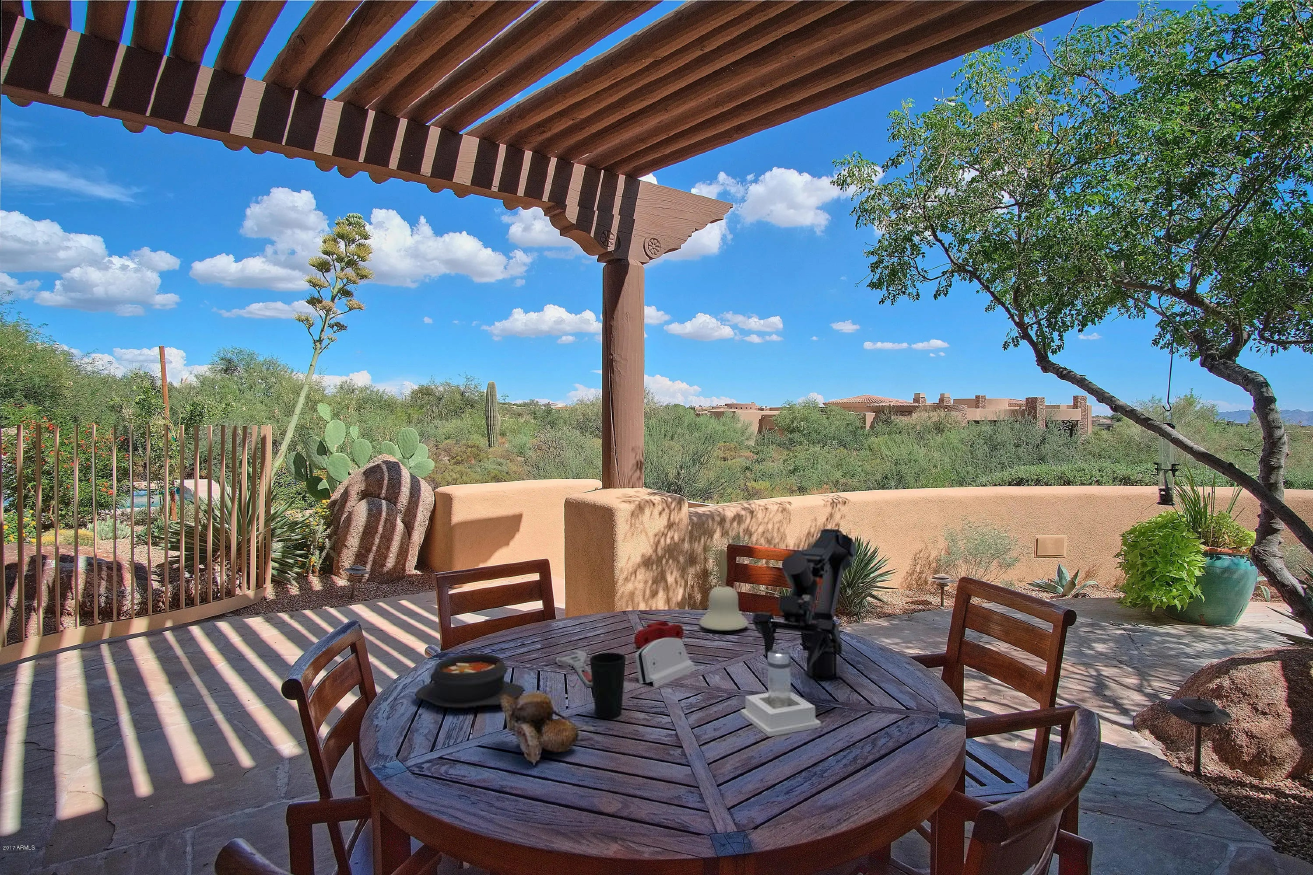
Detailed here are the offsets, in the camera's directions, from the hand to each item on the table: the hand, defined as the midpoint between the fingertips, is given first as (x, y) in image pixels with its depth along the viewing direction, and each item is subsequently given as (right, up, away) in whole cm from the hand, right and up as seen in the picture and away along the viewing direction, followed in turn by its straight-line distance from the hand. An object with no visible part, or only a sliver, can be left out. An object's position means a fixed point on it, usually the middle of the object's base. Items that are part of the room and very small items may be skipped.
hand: (787, 662), depth 147 cm
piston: (-2, -10, -5) cm, 11 cm away
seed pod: (-50, -11, -18) cm, 54 cm away
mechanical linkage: (-28, -12, +52) cm, 61 cm away
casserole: (-71, -12, +9) cm, 72 cm away
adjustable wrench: (-48, -12, +29) cm, 57 cm away
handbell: (-7, -12, +67) cm, 69 cm away
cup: (-38, -11, 0) cm, 40 cm away
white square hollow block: (-3, -11, -5) cm, 12 cm away
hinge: (-26, -12, +24) cm, 38 cm away
